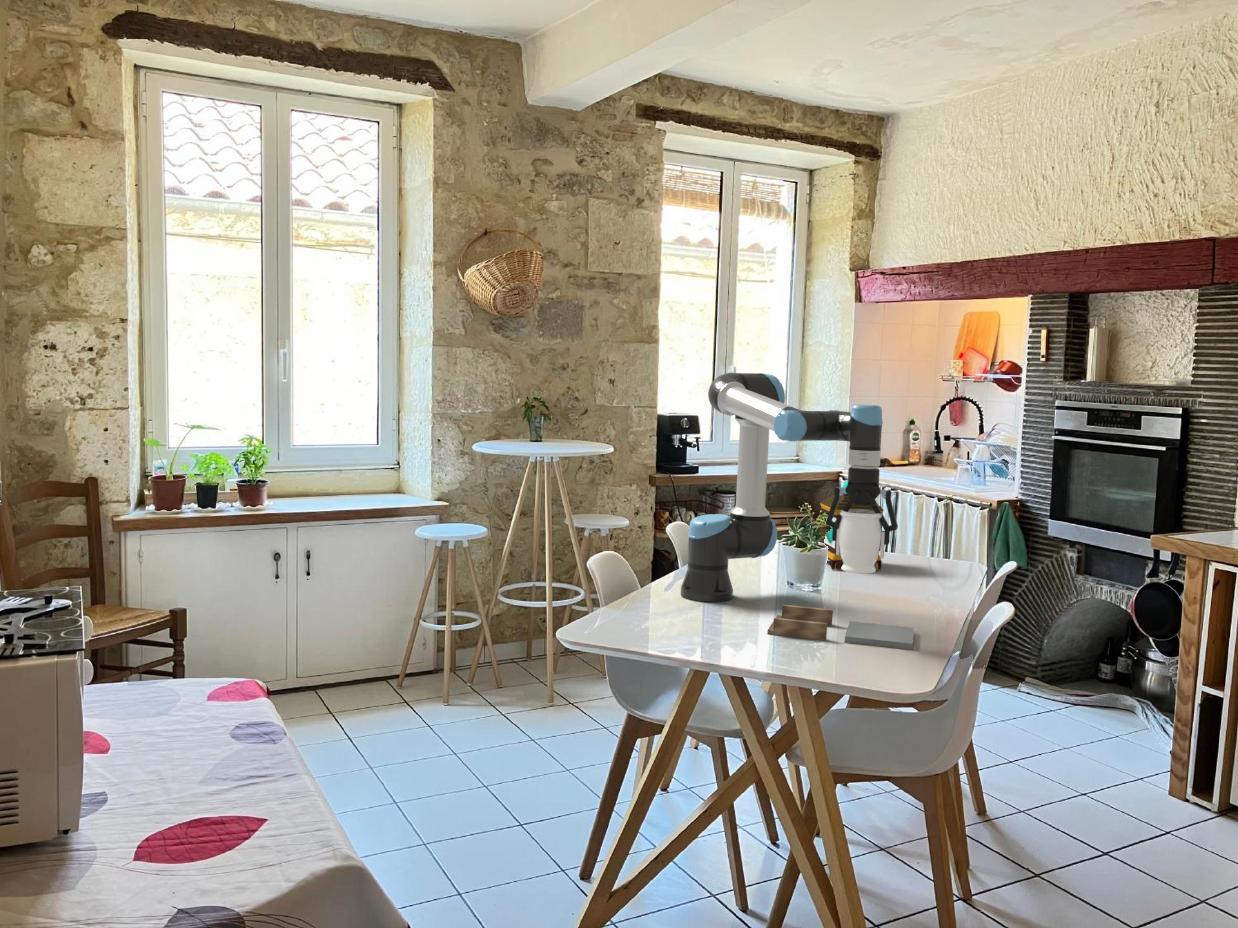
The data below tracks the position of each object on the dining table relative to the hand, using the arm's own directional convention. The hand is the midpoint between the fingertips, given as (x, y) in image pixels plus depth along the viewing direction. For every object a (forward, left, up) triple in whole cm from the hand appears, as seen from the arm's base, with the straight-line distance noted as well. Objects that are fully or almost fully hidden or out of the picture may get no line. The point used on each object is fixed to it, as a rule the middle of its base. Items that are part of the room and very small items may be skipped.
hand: (859, 555), depth 246 cm
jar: (0, 0, -4) cm, 4 cm away
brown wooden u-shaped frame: (-13, 0, -20) cm, 24 cm away
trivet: (+6, 0, -20) cm, 21 cm away
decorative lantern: (-9, +92, -21) cm, 95 cm away
